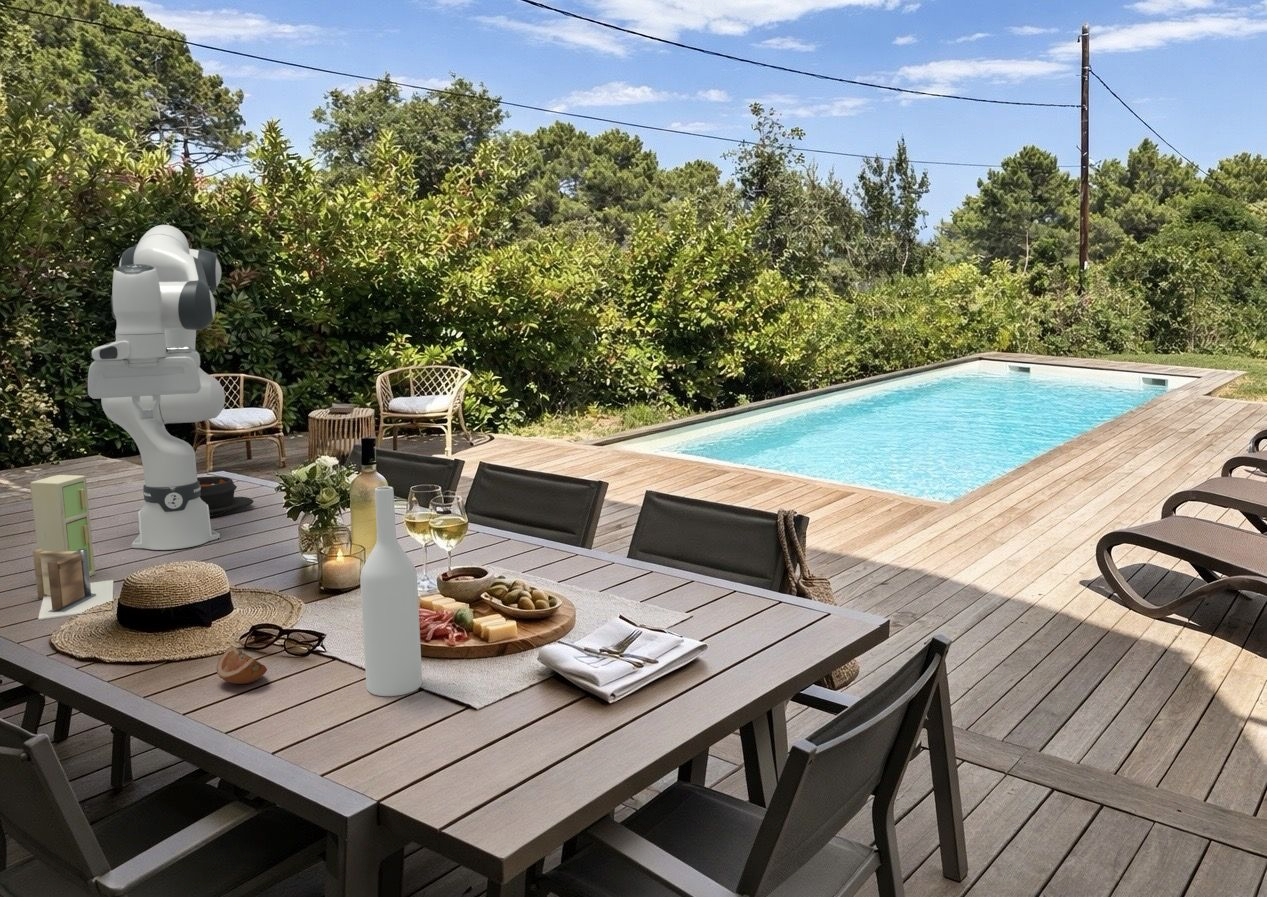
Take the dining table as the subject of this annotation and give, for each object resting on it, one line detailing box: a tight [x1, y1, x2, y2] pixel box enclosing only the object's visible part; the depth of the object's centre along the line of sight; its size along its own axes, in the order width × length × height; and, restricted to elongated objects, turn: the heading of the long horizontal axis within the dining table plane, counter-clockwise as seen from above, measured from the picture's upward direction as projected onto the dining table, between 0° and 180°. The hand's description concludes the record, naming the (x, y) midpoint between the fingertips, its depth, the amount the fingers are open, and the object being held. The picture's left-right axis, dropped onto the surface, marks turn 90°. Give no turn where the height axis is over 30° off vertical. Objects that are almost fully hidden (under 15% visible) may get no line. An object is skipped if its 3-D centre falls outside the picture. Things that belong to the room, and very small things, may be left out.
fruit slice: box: [216, 644, 268, 685], centre depth 156 cm, size 8×7×5 cm
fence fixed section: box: [32, 548, 91, 599], centre depth 200 cm, size 10×2×10 cm, turn 86°
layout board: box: [37, 579, 114, 621], centre depth 199 cm, size 21×12×1 cm, turn 26°
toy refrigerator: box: [29, 474, 96, 577], centre depth 212 cm, size 8×7×21 cm
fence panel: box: [47, 554, 85, 610], centre depth 194 cm, size 8×2×9 cm, turn 175°
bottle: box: [359, 485, 423, 697], centre depth 152 cm, size 8×8×30 cm
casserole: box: [197, 476, 254, 516], centre depth 273 cm, size 25×19×8 cm
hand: (148, 418), depth 206 cm, fingers closed
